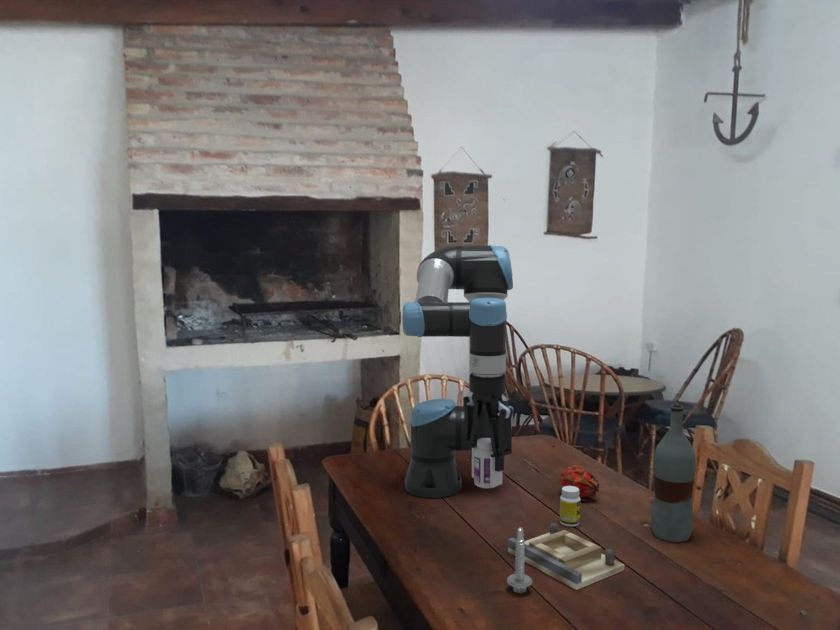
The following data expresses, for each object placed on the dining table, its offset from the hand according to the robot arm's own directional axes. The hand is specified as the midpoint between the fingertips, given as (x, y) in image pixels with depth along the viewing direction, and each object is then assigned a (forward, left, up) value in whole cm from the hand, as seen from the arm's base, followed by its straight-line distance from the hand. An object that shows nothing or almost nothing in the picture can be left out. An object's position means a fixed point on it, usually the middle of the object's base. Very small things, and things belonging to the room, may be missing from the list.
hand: (486, 480), depth 160 cm
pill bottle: (0, 0, -1) cm, 1 cm away
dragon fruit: (-11, +41, -17) cm, 46 cm away
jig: (+12, +12, -17) cm, 24 cm away
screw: (+15, -4, -17) cm, 23 cm away
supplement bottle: (-1, +27, -17) cm, 32 cm away
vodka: (+17, +41, -17) cm, 47 cm away
